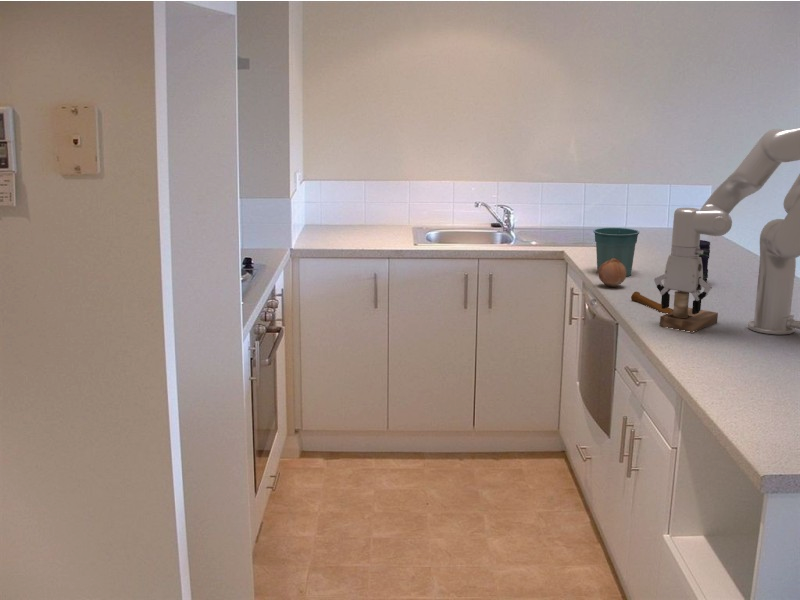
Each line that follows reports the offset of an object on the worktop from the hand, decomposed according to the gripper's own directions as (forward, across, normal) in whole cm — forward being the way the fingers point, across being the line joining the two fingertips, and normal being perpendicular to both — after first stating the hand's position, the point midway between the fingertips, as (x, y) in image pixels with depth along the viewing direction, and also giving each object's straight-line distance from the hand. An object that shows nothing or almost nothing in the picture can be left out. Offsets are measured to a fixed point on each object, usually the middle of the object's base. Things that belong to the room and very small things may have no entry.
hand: (680, 310), depth 272 cm
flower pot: (+5, +53, -54) cm, 76 cm away
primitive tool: (+5, +17, -17) cm, 25 cm away
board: (+5, -1, -4) cm, 6 cm away
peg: (+5, 0, 0) cm, 5 cm away
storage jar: (+5, +24, -58) cm, 64 cm away
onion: (+5, +42, -34) cm, 54 cm away
